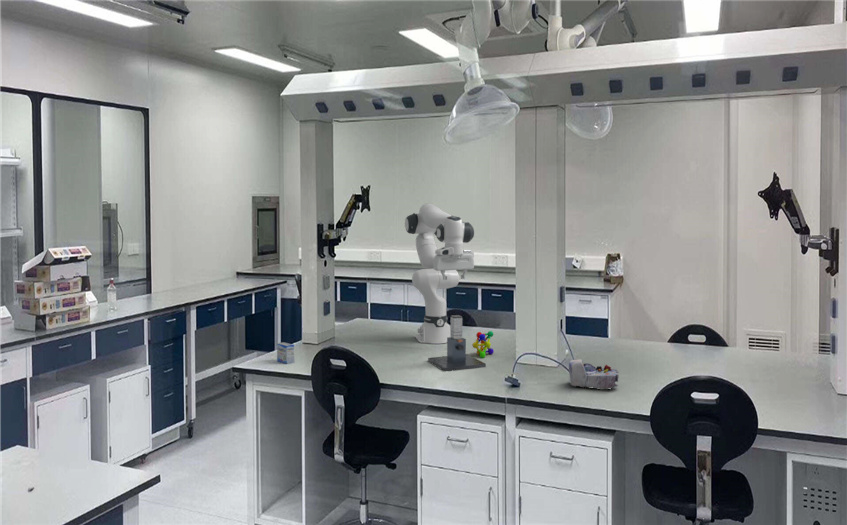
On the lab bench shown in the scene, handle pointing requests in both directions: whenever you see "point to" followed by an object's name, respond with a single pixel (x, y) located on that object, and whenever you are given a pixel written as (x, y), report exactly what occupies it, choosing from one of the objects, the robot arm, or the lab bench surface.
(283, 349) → the medicine box
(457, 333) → the post
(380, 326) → the lab bench surface
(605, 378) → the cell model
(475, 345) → the molecular model
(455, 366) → the dark grey socket base
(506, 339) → the lab bench surface
